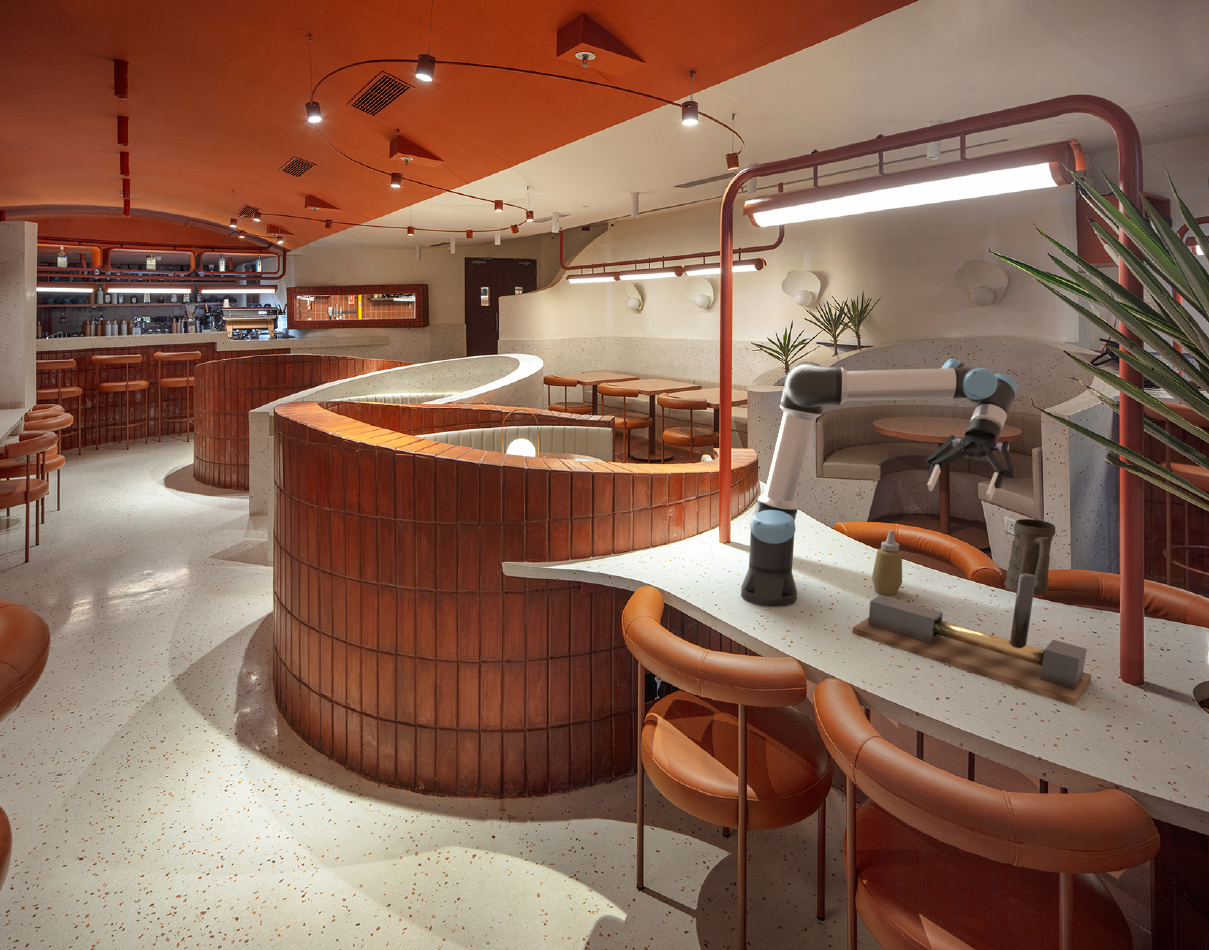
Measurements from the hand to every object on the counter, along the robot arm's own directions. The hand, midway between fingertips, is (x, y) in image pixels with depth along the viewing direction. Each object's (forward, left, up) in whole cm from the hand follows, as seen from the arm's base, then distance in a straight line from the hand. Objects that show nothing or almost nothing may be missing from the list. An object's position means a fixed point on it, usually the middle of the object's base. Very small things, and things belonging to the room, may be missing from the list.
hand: (958, 492), depth 166 cm
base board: (0, -20, -34) cm, 39 cm away
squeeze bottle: (-12, +17, -34) cm, 40 cm away
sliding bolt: (+5, -23, -30) cm, 38 cm away
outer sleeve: (-12, -13, -32) cm, 37 cm away
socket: (+17, -29, -32) cm, 47 cm away
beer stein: (+28, +29, -34) cm, 53 cm away
